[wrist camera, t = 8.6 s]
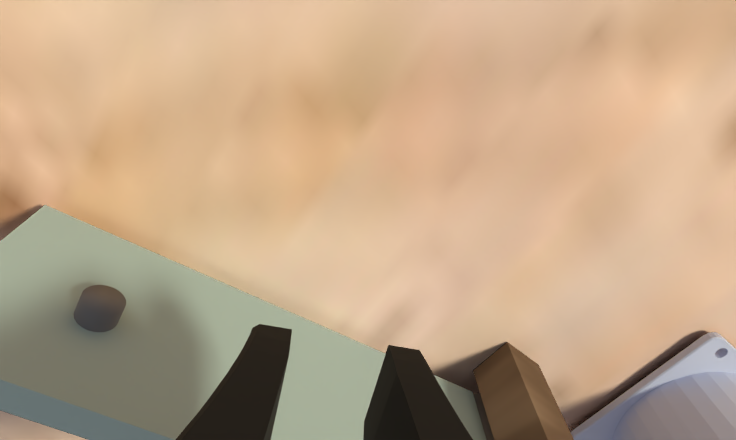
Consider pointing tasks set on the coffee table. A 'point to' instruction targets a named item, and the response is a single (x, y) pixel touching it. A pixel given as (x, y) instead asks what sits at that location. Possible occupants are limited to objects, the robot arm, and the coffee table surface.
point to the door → (160, 343)
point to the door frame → (518, 398)
